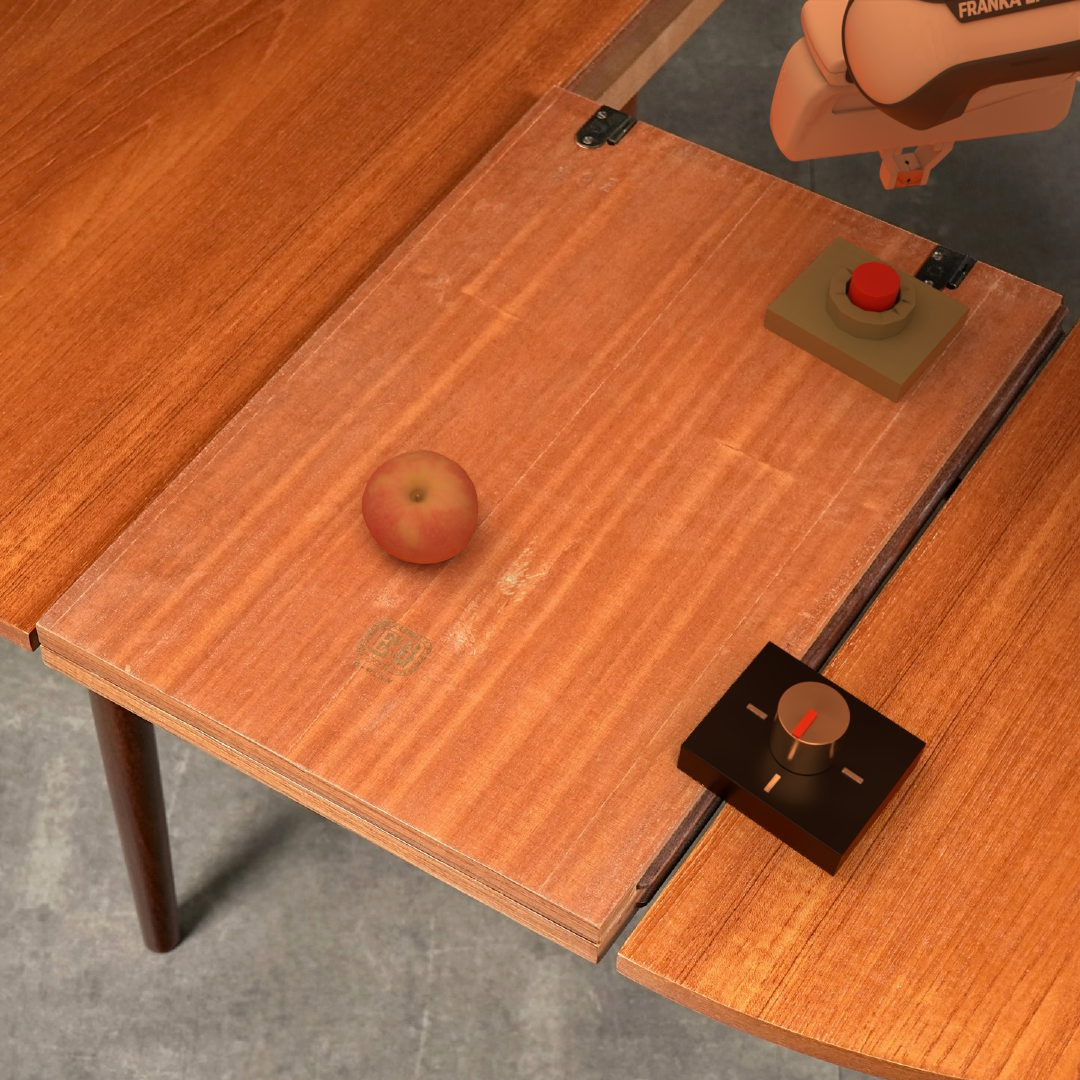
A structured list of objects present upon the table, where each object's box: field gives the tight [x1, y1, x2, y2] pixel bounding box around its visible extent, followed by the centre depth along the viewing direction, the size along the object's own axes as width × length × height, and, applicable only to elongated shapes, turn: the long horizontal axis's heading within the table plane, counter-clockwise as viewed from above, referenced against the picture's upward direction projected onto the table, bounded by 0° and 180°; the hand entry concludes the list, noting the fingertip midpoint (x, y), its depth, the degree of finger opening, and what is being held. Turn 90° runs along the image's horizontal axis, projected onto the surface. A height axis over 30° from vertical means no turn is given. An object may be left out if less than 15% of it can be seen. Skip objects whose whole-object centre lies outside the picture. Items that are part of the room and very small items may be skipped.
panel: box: [676, 640, 927, 877], centre depth 108 cm, size 12×10×3 cm
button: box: [849, 262, 900, 312], centre depth 128 cm, size 4×4×2 cm
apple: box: [361, 449, 479, 565], centre depth 115 cm, size 8×8×8 cm
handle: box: [769, 682, 850, 775], centre depth 105 cm, size 4×4×4 cm
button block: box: [763, 235, 971, 404], centre depth 130 cm, size 12×10×4 cm
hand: (902, 181), depth 119 cm, fingers closed
